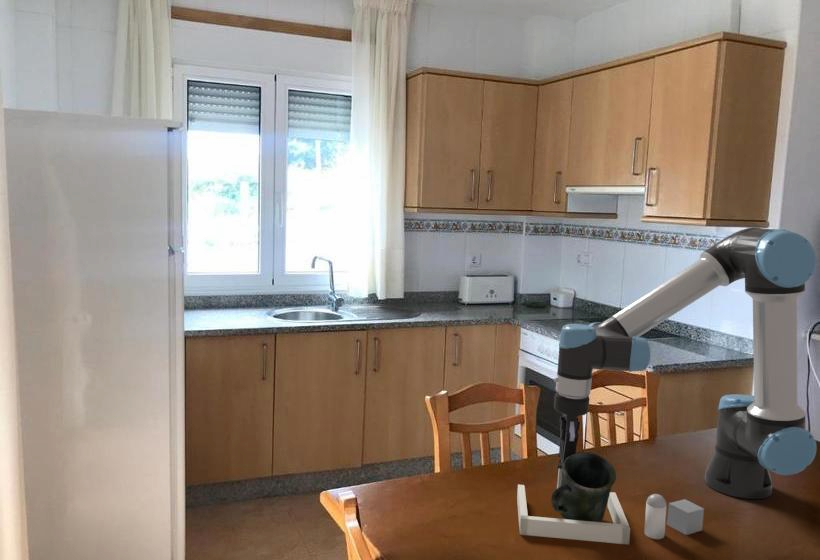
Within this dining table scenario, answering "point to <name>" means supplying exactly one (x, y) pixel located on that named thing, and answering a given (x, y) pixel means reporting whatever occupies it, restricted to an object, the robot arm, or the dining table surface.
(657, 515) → the cylinder
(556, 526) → the corral
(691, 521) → the grey box
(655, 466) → the dining table surface
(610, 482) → the mug
